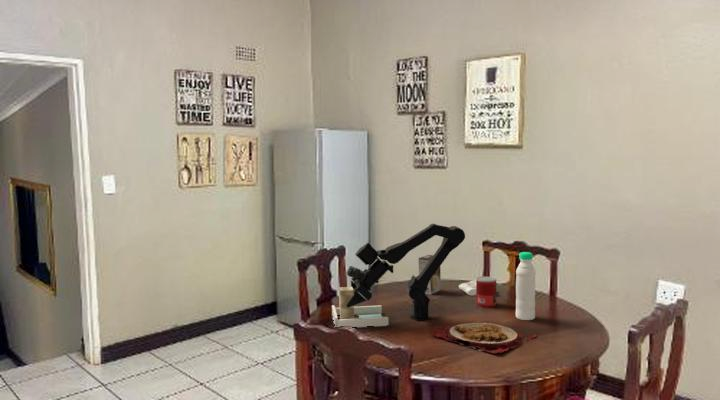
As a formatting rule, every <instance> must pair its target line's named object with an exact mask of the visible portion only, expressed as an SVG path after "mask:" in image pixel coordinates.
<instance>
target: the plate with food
mask: <svg viewBox="0 0 720 400" xmlns="http://www.w3.org/2000/svg"><path fill="white" fill-rule="evenodd" d="M435 328H437V329H441V328H442V329H441V330H440V331H438V332H436V331H435V330H434V332H432V333H431V332H430V334H431V335H432V336H434V337H436V338H441V339H444V341H447V342H448V341H449V342H454V343H458V344H460V345H462V346H464V343H461V342H460V341H465V342H468V343H470V344H469V345H470V346H469V345H468V346H467V347H468V348H472V349H473V350H477V351H479V352H486V353H491V354H502V353H504V352H507V351H508V350H512V349H514V348H519V347H520V345H521V344H522V342H521V338H524V337H525V334H521V333H520V332H517V331H516V330H514V329H513V328H511V327H507V326H505V325H502V324H499V323H498V324H497V323H493V322H487V321H485V322H481V321H480V322H478V321H476V322H475V321H474V322H473V321H471V322H464V323H459V324H458V323H457V324H455V325H451V324H450V325H447V324H446V325H445V327H444V328H443V325H440V326H438V325H437V326H434V329H435ZM529 335H530V336H528V339H529V340H528V341H527V340H526V343H528V342H529V341H532V339H533V338H535V337H536V336H537V335H536V334H531V333H529ZM531 335H532V336H531ZM458 340H460V341H458ZM491 350H492V351H491Z"/></svg>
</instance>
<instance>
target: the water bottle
mask: <svg viewBox="0 0 720 400" xmlns="http://www.w3.org/2000/svg"><path fill="white" fill-rule="evenodd" d="M518 256H519V257H518V258H519V260H520V263H519V264H518V266H517V268H516V269H515V270H516V271H515V274H516V277H515V278H516V279H515V317H516V319H518V320H521V321H532V320H534V319H535V318H536V309H535V308H536V269H535V268H534V264H533V263H532V261H533V256H534V255H533V253H532V252H529V251H522V252H519V255H518Z"/></svg>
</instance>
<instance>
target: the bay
mask: <svg viewBox="0 0 720 400" xmlns="http://www.w3.org/2000/svg"><path fill="white" fill-rule="evenodd" d="M382 306H383V305H366V306H365V305H364V306H363V305H362V306H354V316H357V317H358V316H359V317H358V318H354V319H340V318H339V316H337V315H340V307H336V306H335V305H331V317H332V316H333V317H332V321H333V320H334V321H333V325H334V324H335V326H334V328H335V327H340V326H351V327H357V328H368V327H367V326H374V327H388V326H389V316H383V315H382V313H383V312H382ZM338 318H339V319H338ZM387 325H388V326H387Z"/></svg>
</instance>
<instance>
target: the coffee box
mask: <svg viewBox="0 0 720 400" xmlns="http://www.w3.org/2000/svg"><path fill="white" fill-rule="evenodd" d="M433 255H434V254H427V255H424V256H421V257H418V275H420V274H421V272H422V271H423V269H424V268H425V267H426V265H427V264H428V262H429V261H430V260H431V258H432V257H433ZM441 277H442V276H441V266H440V267H439V268H438V270H437V271H436V273H435V274H434V275H433V277H432V278H431V279H430V281H429V283H428V287H427V290H426V292H425V293H426V295H434V294H435V293H437V292H439V291H441V287H442V286H441V283H442V282H441Z"/></svg>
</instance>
